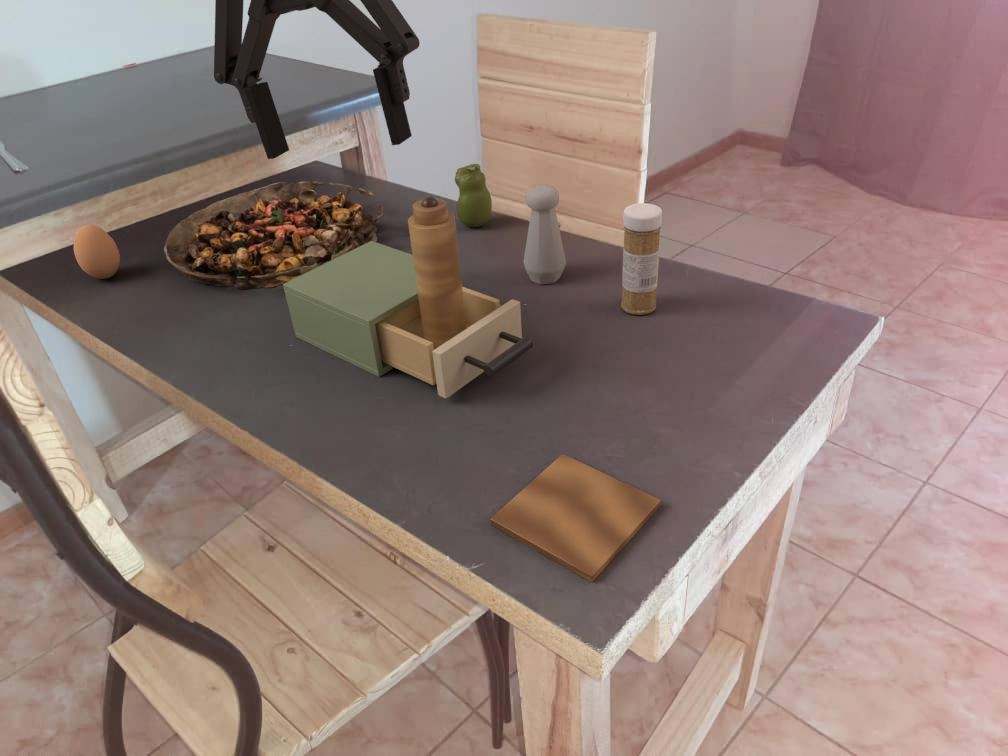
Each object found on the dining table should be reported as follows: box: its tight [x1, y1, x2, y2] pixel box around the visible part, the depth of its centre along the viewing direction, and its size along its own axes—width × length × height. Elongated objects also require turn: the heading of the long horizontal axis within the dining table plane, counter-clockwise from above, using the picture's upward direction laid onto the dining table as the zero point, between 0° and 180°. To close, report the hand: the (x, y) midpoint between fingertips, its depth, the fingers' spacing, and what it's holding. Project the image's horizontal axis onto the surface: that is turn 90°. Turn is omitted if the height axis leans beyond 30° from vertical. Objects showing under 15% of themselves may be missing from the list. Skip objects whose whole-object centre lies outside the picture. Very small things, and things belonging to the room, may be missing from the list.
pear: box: [454, 163, 493, 228], centre depth 121 cm, size 6×5×10 cm
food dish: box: [163, 180, 384, 290], centre depth 120 cm, size 35×33×8 cm
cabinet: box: [282, 241, 419, 378], centre depth 97 cm, size 16×15×8 cm
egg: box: [73, 224, 121, 280], centre depth 114 cm, size 6×6×8 cm
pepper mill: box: [407, 195, 466, 350], centre depth 86 cm, size 5×5×18 cm
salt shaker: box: [523, 184, 567, 285], centre depth 104 cm, size 6×6×13 cm
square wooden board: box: [489, 453, 662, 583], centre depth 70 cm, size 11×11×1 cm
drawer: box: [375, 286, 534, 400], centre depth 90 cm, size 19×13×6 cm
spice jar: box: [620, 202, 663, 316], centre depth 96 cm, size 5×5×14 cm
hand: (338, 148), depth 73 cm, fingers open, 13 cm apart
